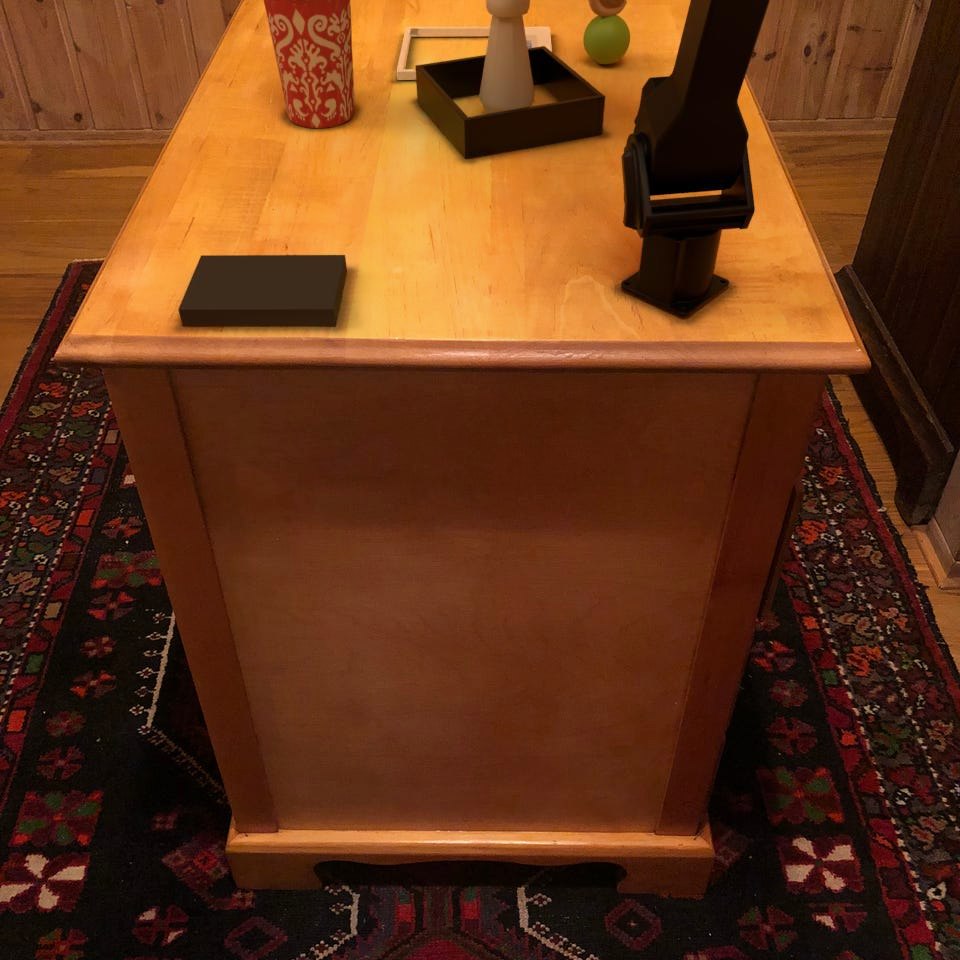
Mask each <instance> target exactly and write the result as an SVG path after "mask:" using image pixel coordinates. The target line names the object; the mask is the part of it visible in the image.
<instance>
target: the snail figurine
mask: <svg viewBox="0 0 960 960" xmlns="http://www.w3.org/2000/svg"><path fill="white" fill-rule="evenodd" d="M587 1H588V4H589V7H590V9H591V11H592V13H594V15H596V16H595V17H593V18H592V19H591V20H590V21H589V22H588V23H587V26H586V27H585V29H584V31H583V39H582V40H583V41H582V42H583V48H584V51H585V53H586V56H587V57H588V58H589V59H590V60H592V61H593V62H595V63H596V64H599V65H611V64H614V63H616V62H618V61H619V60H621V59H622V58H623V57H624V56H625V55H626V53H627V52H628V49H629V47H630V43H631V32H630V29H629V26H628V24H627V22H626V21H625V20H624V19H623V18H622V17H621V16H620V15H619V14H620V13H621V12H622V11H623V10H624V9H625V7H626V6H627V3H628V1H627V0H587Z"/></svg>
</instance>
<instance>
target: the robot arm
mask: <svg viewBox="0 0 960 960" xmlns="http://www.w3.org/2000/svg"><path fill="white" fill-rule="evenodd" d="M689 1H690V2H689V6H688V9H687V14H686V18H685V21H684V22H685V23H684V26H683V29H682V33H681V36H680V37H681V38H680V42H679V46H678V50H677V53H676V58H675V62H674V66H673V70H672V72H671V74H670V75H668V76H667V75H666V76H653V77H649V78H648V79H647V80H646V82H645V84H643V86H642V88H641V95H640V101H639V106H638V111H637V113H636V116H635V118H634V119H633V123H634V128H633V132H631V133H629V134H628V136H627V140H626V142H625V146H624V148H623V153H622V154H621V170H622V183H623V203H624V208H623V217H622V224H623V226H624V227H626V228H628V229H631V230H633V231H636V233H637V234H638V237H639V238H640V239H642V241H641V242H642V243H641V249H640V250H641V251H640V258H639V268H638V270H637V271H636V272H634V273H633V274H631V275H630V276H628V277H626V278H625V279H623V280H622V281H621V283H620V289H621V291H623V292H626V293H627V294H630V295H632V296H633V297H636V298H639V299H640V300H642V301H646V303H649V304H651V305H654V306H656V307H657V308H660V309H662V310H665V311H666V312H669V313H671V314H672V315H675V316H677V317H679V318H688V317H690V316H691V315H693V314H694V313H695V312H697V311H698V310H699V309H701V308H702V307H703V306H705V305H706V304H708V303H709V302H710V301H712V300H713V299H714V298H716V297H717V296H719V295H720V294H721V293H723V292H724V291H726V290H727V289H728V288H729V287H730V286H729V285H730V281H729V279H727V278H724V277H722V276H720V275H718V274H715V273H714V272H715V269H716V265H717V259H718V254H719V248H720V243H721V237H722V232H723V231H724V230H725V231H726V230H735V229H736V230H737V229H739V230H747V229H748V228H749V226H750V223H751V221H752V219H753V216H754V214H755V210H756V207H755V206H756V205H755V199H754V190H753V181H752V175H751V166H750V157H749V151H748V142H749V138H750V135H749V131H748V128H747V125H746V123H745V119H744V117H743V114H742V111H741V109H740V108H741V107H740V106H739V103H738V101H739V96H740V93H741V90H742V86H743V84H744V81H745V78H746V74H747V72H748V69H749V65H750V63H751V59H752V56H753V54H754V50H755V47H756V44H757V41H758V38H759V36H760V33H761V29H762V26H763V23H764V21H765V17H766V14H767V11H768V8H769V4H770V2H771V0H689ZM717 191H720V193H719V194H707V195H695V196H683V197H671V198H670V197H669V198H657V199H651V197H657V196H667V195H668V196H669V195H678V194H691V193H703V192H717Z"/></svg>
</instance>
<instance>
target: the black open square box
mask: <svg viewBox="0 0 960 960" xmlns="http://www.w3.org/2000/svg"><path fill="white" fill-rule="evenodd" d="M528 54H529V60H530V67H531V73H532V79H533V86H534V87H535V86H539V85H540V86H541V87H543V88H544V89H545V90H546V91H547V92H548V93H549V94H550V95H551V96H552V97H554V98H555V99H556V100H557V101H556V102H549V103H544V104H538V105H532V106H531V107H525V108H519V109H513V110H507V111H501V112H495V113H489V114H485V113H483V114H478V115H473V116H468V115H467V114H466V113H465V112H464V111H463V110H462V109H461V108H460V107H459V105H458V104H457V103H456V102H455V101H454V99H459V98H467V97H471V96H476V95H478V96H479V94H480V88H481V82H482V76H483V69H484V63H485V57H486V54H482V55H475V56H469V57H463V58H455V59H449V60H442V61H436V62H429V63H423V64H417V65H415V69H416V80H415V81H416V82H415V83H416V85H415V86H416V102H417V104H419V106H420V107H421V108H422V109H423V111H424V112H425V113H426V114H427V116H428V117H429V118H430V119H431V121H433V123H434V124H435V125H436V127H438V129H439V130H440V131H441V132H442V134H444V136H445V138H447V139H448V141H449V143H451V145H452V146H454V148H455V149H456V150H457V151H458V152H459V155H461V156H462V158H464V160H470V159H475V158H480V157H487V156H492V155H498V154H503V153H508V152H509V153H510V152H514V151H520V150H525V149H531V148H536V147H541V146H542V147H543V146H548V145H554V144H559V143H563V142H571V141H574V140H581V139H586V138H592V137H598V136H602V135H603V131H604V120H605V119H604V118H605V106H606V105H605V104H606V95H605V94H603V93H602V92H601V91H600V90H598V89H597V88H596V87H595V86H593V84H591V83H590V82H589V81H588V80H586V79H585V78H584V77H583V76H581V75H580V74H579V73H578V72H577V71H575V70H574V69H573V68H572V67H571V66H569V65H568V64H567V63H566V62H565V61H563V60H562V59H561V58H559V56H557V55H556V54H555V53H554V52H553V51H552V52H551V51H550V50H549V49H547V48H546V47H545V46H541V47H535V48H528Z"/></svg>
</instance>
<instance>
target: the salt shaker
mask: <svg viewBox="0 0 960 960" xmlns="http://www.w3.org/2000/svg"><path fill="white" fill-rule="evenodd" d="M530 6H531V0H485V7H486V10H487V12H488V13H489V15H491V20H490V21H491V22H490V26H489V27H490V32H489V36H488V40H487V45H486V52H485V55H486V57H485V63H484V69H483V76H482V82H481V88H480V94H479V95H478V97H479V102H480V104H481V106H482V109H483V111H484V114H489V113H495V112H501V111H507V110H513V109H519V108H525V107H531V106H533V103H534V101H535V95H536V92H535V88H534V87H535V85H534V86H533V79H532V73H531V67H530V60H529V54H528V48H527V41H526V35H525V29H524V27H525V23H524V18H523V17H524V15H526V14H528V13H529V10H530Z"/></svg>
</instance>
